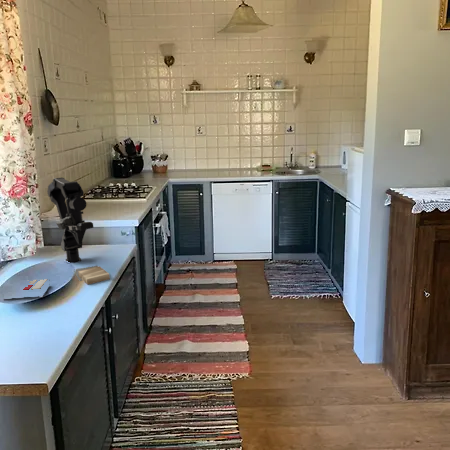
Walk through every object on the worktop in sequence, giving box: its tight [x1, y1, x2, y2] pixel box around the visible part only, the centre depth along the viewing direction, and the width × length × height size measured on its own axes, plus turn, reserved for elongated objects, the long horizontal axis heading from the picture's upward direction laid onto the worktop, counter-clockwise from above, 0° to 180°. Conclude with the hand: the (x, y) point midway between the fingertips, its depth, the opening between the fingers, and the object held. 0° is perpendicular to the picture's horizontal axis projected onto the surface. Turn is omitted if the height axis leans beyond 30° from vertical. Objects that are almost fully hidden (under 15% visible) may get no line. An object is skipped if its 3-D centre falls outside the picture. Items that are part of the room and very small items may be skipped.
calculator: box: [23, 278, 48, 290], centre depth 189 cm, size 11×4×15 cm
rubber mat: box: [75, 265, 99, 282], centre depth 208 cm, size 16×10×1 cm, turn 25°
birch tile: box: [78, 266, 111, 286], centre depth 201 cm, size 2×10×12 cm
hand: (79, 244), depth 211 cm, fingers closed
